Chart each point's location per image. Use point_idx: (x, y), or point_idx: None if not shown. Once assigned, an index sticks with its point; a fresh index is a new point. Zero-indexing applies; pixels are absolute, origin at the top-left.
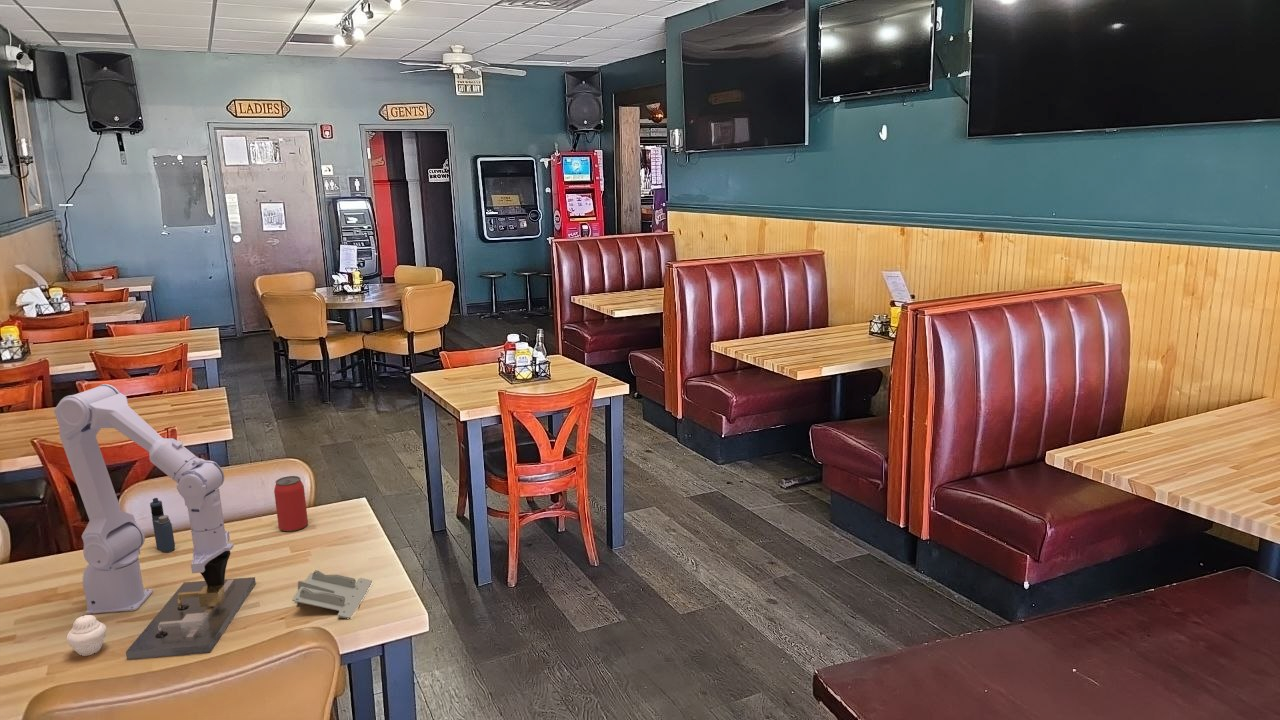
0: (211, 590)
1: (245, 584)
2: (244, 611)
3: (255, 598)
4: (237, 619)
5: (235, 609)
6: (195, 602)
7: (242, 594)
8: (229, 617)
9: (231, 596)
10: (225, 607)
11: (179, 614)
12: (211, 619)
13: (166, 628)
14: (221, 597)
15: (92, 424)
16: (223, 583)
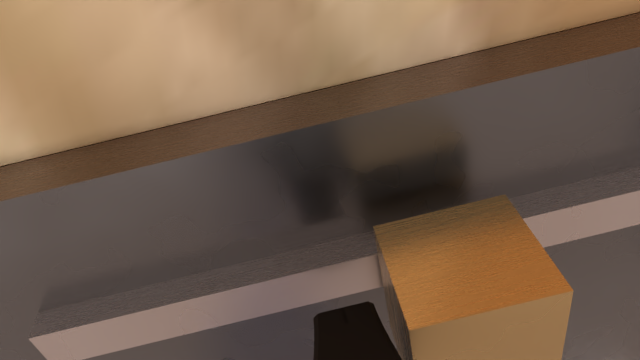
0: (513, 353)
1: (28, 231)
2: (370, 19)
3: (135, 51)
4: (501, 3)
5: (417, 85)
6: None
7: (207, 157)
8: (564, 53)
9: (253, 218)
10: (433, 163)
11: None
12: (606, 156)
13: (637, 316)
14: (472, 240)
15: None
16: (336, 348)
